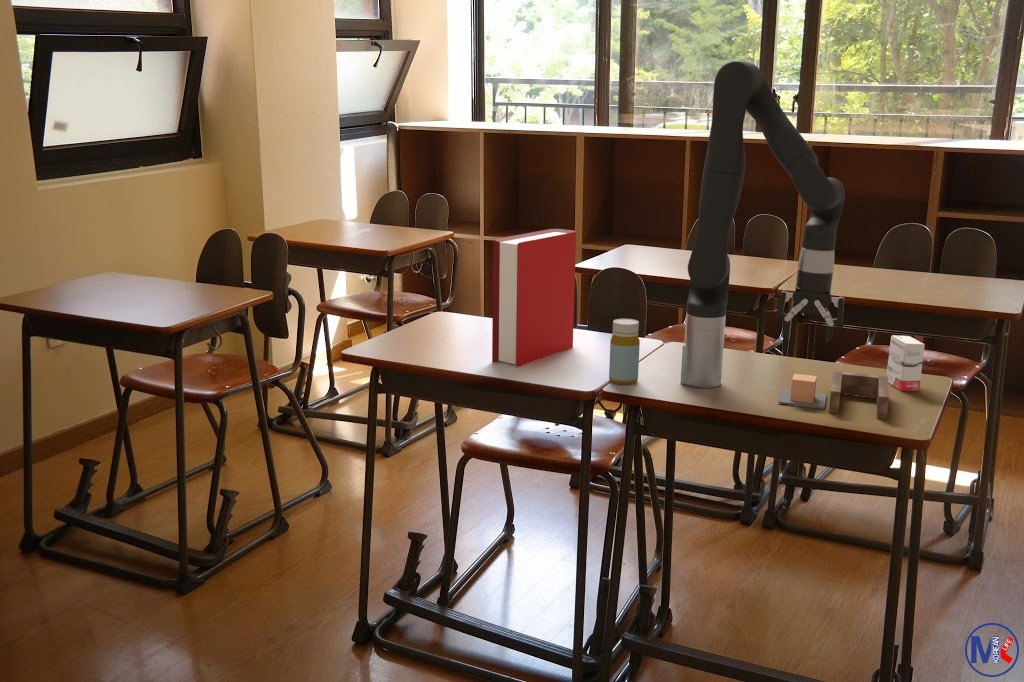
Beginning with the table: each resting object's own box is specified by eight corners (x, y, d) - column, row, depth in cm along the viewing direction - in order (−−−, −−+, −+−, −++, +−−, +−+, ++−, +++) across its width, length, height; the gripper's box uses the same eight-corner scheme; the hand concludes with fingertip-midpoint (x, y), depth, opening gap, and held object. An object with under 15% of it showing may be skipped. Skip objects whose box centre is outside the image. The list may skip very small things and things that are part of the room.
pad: (778, 404, 219) (778, 401, 219) (782, 391, 228) (782, 389, 228) (824, 409, 216) (824, 406, 216) (826, 396, 225) (826, 394, 225)
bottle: (613, 376, 239) (616, 317, 236) (641, 379, 237) (643, 319, 233) (605, 383, 233) (607, 323, 229) (633, 387, 231) (636, 326, 227)
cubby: (828, 412, 214) (830, 391, 213) (831, 391, 229) (833, 371, 228) (886, 419, 210) (888, 397, 209) (885, 397, 226) (887, 376, 224)
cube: (790, 400, 220) (792, 379, 219) (792, 394, 225) (794, 373, 223) (812, 403, 218) (814, 381, 217) (814, 396, 223) (816, 376, 222)
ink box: (920, 391, 230) (926, 343, 227) (900, 391, 230) (905, 343, 227) (904, 381, 239) (909, 334, 236) (884, 381, 238) (889, 334, 235)
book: (516, 367, 246) (518, 242, 238) (492, 362, 250) (493, 239, 242) (575, 346, 267) (579, 231, 259) (551, 341, 272) (554, 228, 264)
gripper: (849, 269, 215) (840, 339, 220) (784, 262, 220) (776, 331, 224) (848, 274, 209) (839, 347, 213) (781, 268, 213) (773, 339, 217)
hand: (806, 339), depth 219 cm, fingers open, 8 cm apart
